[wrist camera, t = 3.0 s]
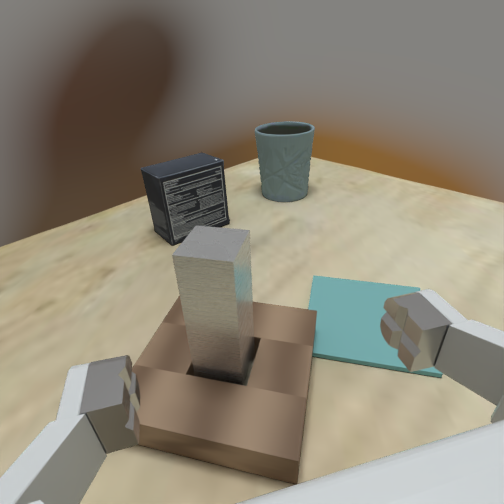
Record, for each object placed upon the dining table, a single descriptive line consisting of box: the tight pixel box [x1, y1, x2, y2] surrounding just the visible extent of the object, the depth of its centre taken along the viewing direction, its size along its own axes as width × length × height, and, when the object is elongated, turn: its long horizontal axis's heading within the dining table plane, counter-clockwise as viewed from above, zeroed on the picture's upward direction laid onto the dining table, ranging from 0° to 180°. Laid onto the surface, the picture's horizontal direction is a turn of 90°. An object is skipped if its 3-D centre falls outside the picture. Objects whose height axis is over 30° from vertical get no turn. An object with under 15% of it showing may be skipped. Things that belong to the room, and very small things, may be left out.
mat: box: [308, 276, 443, 378], centre depth 35 cm, size 12×12×1 cm
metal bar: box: [172, 225, 255, 386], centre depth 26 cm, size 4×4×14 cm
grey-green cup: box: [255, 122, 315, 202], centre depth 61 cm, size 10×10×12 cm
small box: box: [141, 153, 230, 245], centre depth 51 cm, size 11×6×10 cm, turn 129°
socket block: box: [132, 296, 317, 484], centre depth 29 cm, size 14×14×3 cm
